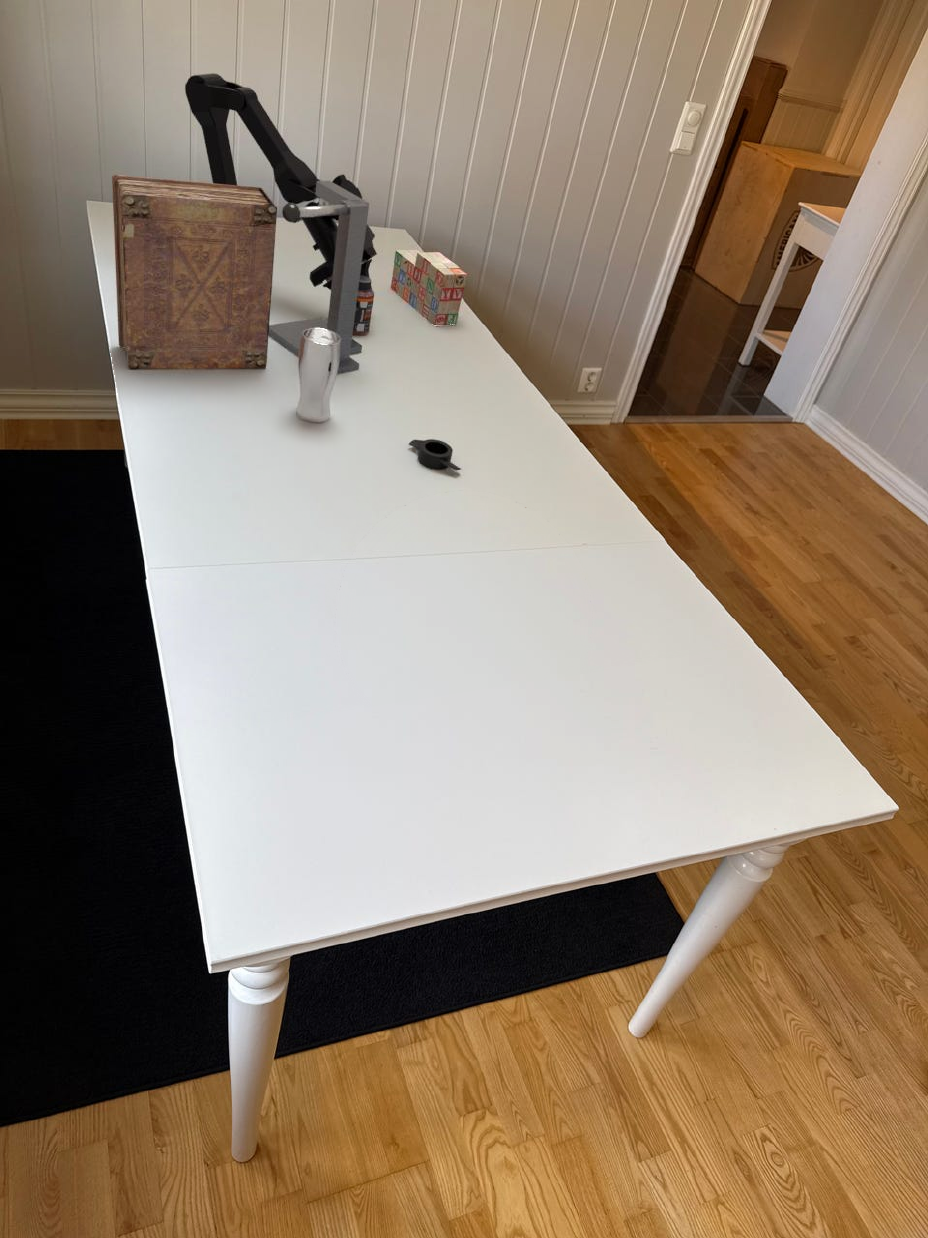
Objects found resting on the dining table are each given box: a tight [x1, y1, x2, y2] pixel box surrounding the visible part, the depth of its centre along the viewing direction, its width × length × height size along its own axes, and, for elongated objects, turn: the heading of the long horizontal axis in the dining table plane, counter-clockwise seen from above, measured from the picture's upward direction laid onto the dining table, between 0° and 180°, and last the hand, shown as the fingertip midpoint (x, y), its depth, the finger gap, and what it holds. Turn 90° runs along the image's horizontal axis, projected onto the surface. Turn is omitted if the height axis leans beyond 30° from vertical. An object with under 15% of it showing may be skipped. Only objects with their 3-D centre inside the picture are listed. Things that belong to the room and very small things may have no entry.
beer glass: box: [295, 328, 341, 424], centre depth 154 cm, size 7×7×15 cm
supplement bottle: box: [352, 275, 375, 336], centre depth 186 cm, size 6×6×11 cm
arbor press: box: [268, 180, 370, 375], centre depth 166 cm, size 20×24×32 cm
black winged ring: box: [408, 438, 462, 472], centre depth 154 cm, size 8×10×3 cm
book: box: [111, 174, 278, 371], centre depth 156 cm, size 25×9×30 cm, turn 115°
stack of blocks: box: [390, 249, 468, 326], centre depth 204 cm, size 21×6×12 cm, turn 33°
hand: (364, 302), depth 185 cm, fingers closed on supplement bottle, 6 cm apart
